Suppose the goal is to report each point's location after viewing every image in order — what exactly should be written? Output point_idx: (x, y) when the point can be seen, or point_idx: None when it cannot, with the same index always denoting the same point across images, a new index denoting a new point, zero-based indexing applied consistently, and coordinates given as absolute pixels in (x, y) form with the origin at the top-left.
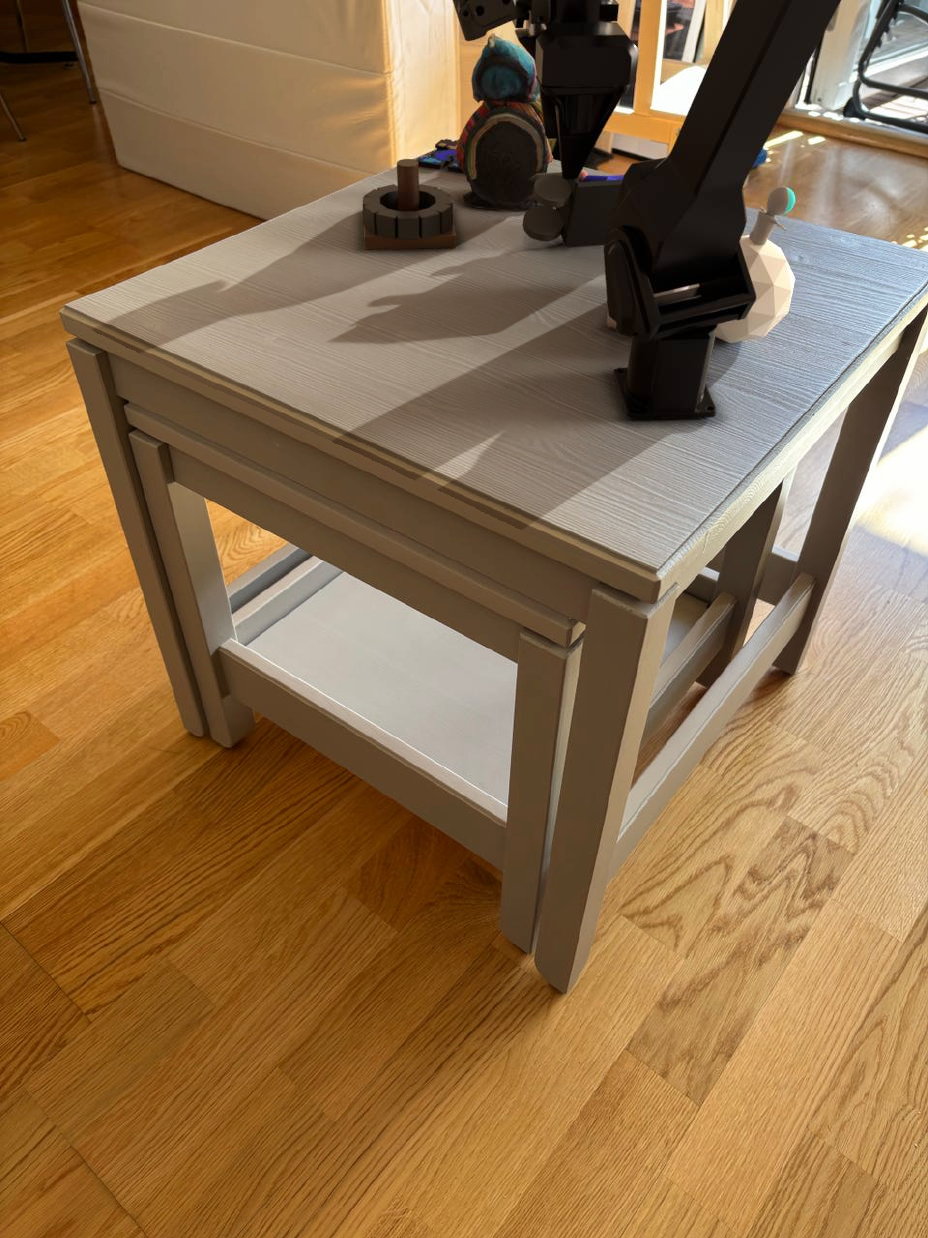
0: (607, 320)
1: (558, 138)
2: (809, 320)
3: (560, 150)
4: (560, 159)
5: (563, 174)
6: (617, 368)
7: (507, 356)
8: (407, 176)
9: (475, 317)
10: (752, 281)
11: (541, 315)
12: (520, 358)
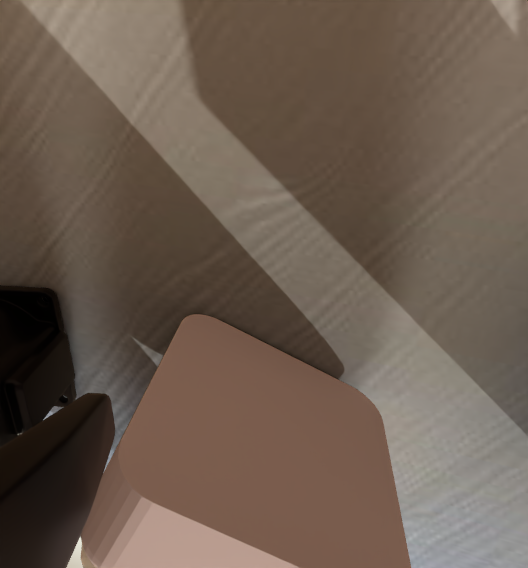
0: (185, 317)
1: (12, 483)
2: None
3: (6, 452)
4: (71, 425)
5: (77, 400)
6: (50, 298)
7: (103, 110)
8: None
9: (272, 53)
10: (82, 564)
11: (273, 203)
12: (98, 136)
